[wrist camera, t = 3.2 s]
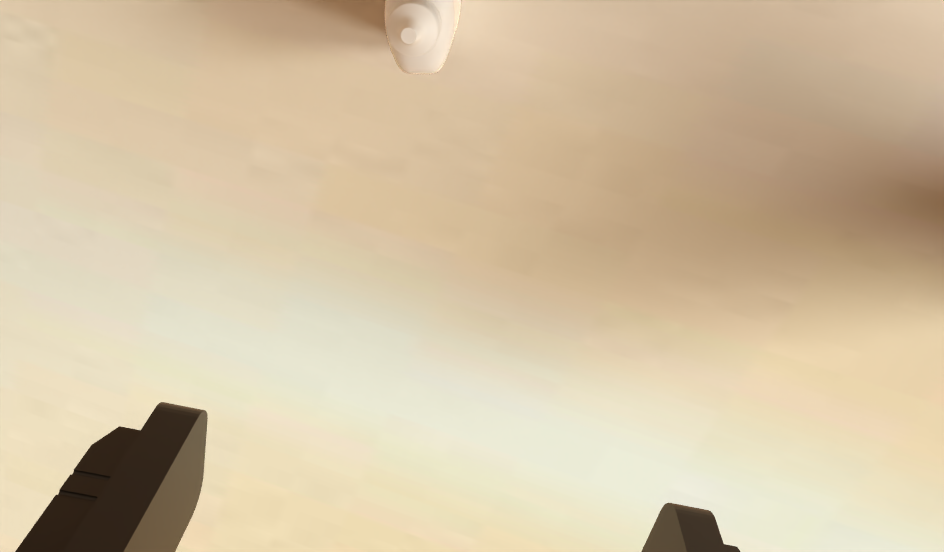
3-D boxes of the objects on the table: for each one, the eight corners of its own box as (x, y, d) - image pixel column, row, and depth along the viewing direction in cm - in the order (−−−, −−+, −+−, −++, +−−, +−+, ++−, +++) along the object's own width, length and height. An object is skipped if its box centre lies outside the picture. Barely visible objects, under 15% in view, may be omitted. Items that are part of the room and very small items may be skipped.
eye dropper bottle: (489, -28, 43) (484, 4, 32) (441, 59, 45) (421, 115, 35) (421, -71, 42) (393, -52, 32) (376, 20, 45) (336, 65, 34)
